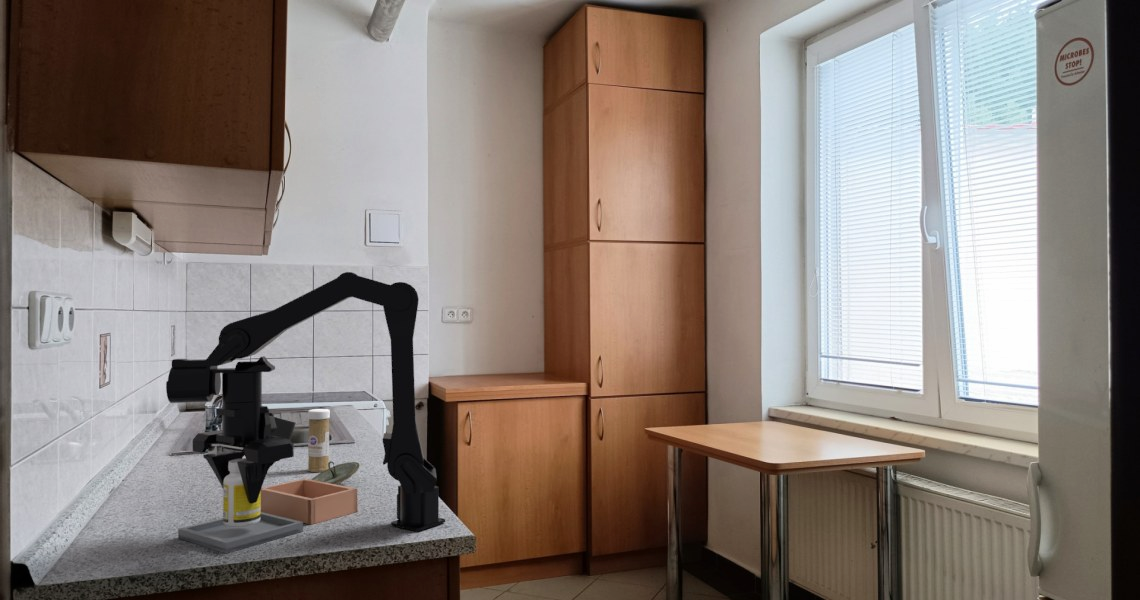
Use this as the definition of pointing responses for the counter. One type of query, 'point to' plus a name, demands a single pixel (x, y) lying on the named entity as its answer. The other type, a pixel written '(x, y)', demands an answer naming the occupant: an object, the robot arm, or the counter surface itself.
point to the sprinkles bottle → (318, 440)
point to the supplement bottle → (238, 500)
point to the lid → (337, 473)
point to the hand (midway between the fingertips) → (242, 500)
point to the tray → (239, 533)
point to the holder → (308, 500)
